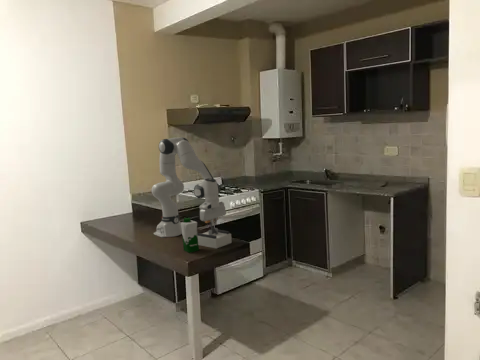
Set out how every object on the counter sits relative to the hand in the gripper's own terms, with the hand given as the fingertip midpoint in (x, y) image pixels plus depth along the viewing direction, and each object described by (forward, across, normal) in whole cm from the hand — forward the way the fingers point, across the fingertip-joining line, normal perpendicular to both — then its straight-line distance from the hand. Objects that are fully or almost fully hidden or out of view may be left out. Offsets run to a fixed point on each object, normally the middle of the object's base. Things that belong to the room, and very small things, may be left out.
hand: (214, 225), depth 257 cm
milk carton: (+13, +18, -4) cm, 22 cm away
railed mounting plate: (+6, 0, -1) cm, 7 cm away
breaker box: (+12, 0, -2) cm, 12 cm away
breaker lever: (+5, 0, -2) cm, 5 cm away
